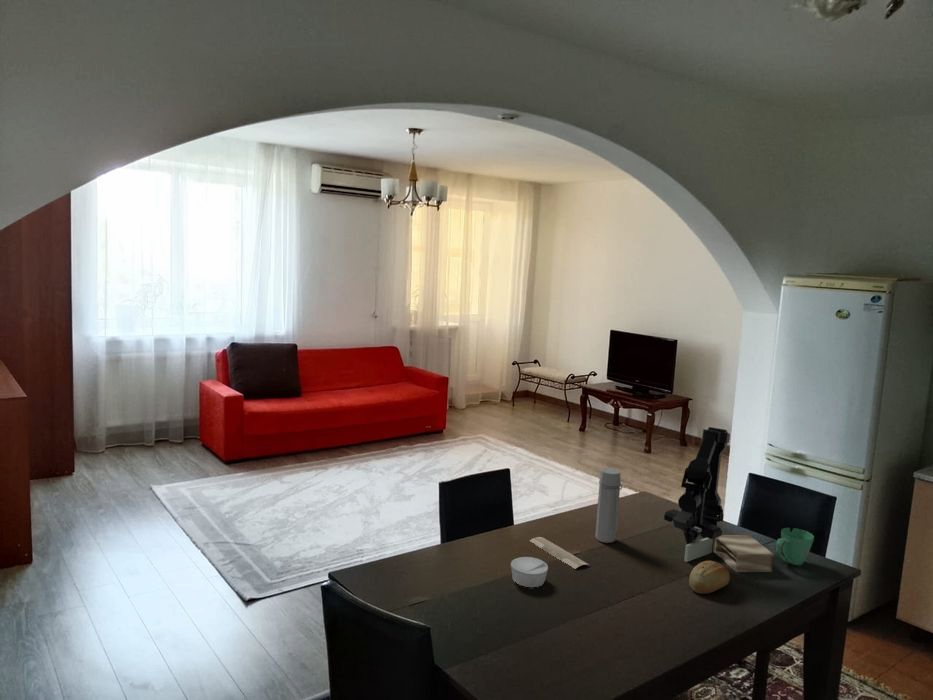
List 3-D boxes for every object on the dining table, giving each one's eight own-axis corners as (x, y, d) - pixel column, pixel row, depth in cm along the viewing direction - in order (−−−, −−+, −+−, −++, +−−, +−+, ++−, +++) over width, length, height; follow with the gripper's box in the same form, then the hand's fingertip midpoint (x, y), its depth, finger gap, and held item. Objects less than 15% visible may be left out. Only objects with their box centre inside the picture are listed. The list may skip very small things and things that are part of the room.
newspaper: (589, 568, 211) (589, 562, 211) (572, 573, 208) (572, 567, 207) (542, 540, 231) (542, 535, 231) (526, 544, 227) (526, 539, 227)
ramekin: (545, 593, 193) (546, 575, 192) (507, 587, 195) (508, 570, 194) (548, 575, 204) (549, 559, 203) (512, 570, 206) (513, 554, 205)
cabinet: (714, 551, 227) (715, 535, 226) (747, 551, 228) (748, 535, 227) (736, 572, 212) (738, 554, 211) (771, 571, 213) (773, 554, 213)
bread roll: (737, 587, 202) (739, 563, 201) (710, 601, 192) (713, 575, 191) (708, 575, 209) (711, 551, 208) (681, 588, 200) (683, 563, 199)
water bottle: (590, 537, 234) (595, 468, 231) (608, 534, 237) (613, 466, 234) (605, 547, 226) (611, 476, 223) (624, 544, 229) (630, 474, 226)
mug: (789, 553, 228) (792, 525, 227) (816, 565, 220) (820, 536, 219) (762, 561, 221) (765, 532, 220) (789, 573, 213) (793, 544, 211)
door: (711, 550, 227) (712, 535, 226) (713, 551, 226) (715, 536, 225) (684, 560, 218) (685, 544, 217) (686, 562, 217) (688, 545, 216)
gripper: (656, 498, 222) (651, 542, 224) (705, 517, 207) (700, 564, 209) (676, 492, 228) (671, 535, 231) (725, 511, 214) (719, 556, 216)
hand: (689, 547), depth 221 cm, fingers closed
